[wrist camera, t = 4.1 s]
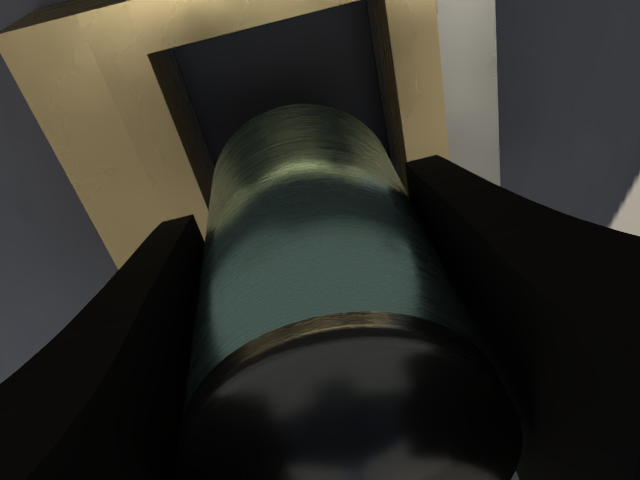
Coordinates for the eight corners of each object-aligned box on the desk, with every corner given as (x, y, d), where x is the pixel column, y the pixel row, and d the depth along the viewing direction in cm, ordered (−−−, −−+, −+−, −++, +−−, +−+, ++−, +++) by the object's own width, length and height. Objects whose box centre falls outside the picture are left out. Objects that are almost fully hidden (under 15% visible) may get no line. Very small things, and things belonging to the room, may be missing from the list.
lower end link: (484, 166, 19) (500, 186, 18) (204, 234, 19) (200, 259, 18) (471, -104, 14) (492, -102, 13) (104, -9, 15) (91, 2, 14)
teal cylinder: (409, 231, 13) (538, 515, 7) (254, 284, 13) (257, 593, 8) (364, 75, 11) (497, 300, 5) (179, 143, 11) (103, 427, 5)
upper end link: (428, 180, 19) (455, 225, 17) (150, 247, 19) (135, 301, 17) (398, -85, 14) (428, -77, 12) (34, 10, 15) (-9, 36, 12)
